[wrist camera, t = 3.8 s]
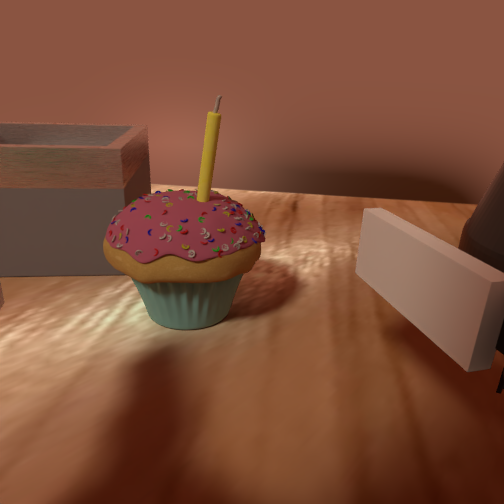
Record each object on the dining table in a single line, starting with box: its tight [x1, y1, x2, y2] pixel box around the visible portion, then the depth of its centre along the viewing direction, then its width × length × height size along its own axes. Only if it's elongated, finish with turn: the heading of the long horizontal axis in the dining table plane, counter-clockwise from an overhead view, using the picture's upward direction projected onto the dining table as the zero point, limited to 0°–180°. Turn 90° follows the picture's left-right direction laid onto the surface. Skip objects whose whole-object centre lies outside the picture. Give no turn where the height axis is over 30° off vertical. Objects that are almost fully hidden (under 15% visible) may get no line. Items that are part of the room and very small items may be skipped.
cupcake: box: [103, 95, 266, 330], centre depth 23 cm, size 9×8×12 cm
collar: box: [0, 122, 149, 189], centre depth 32 cm, size 14×14×2 cm
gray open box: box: [0, 153, 151, 277], centre depth 34 cm, size 14×14×6 cm
